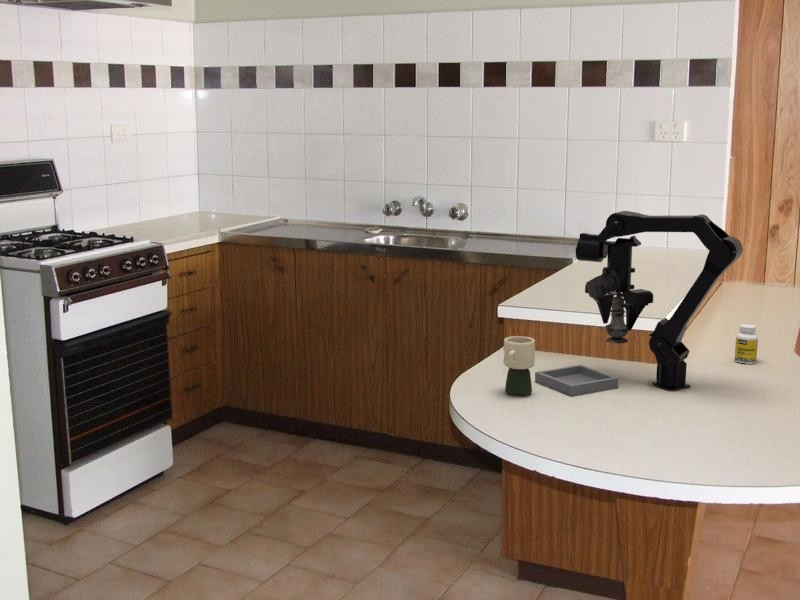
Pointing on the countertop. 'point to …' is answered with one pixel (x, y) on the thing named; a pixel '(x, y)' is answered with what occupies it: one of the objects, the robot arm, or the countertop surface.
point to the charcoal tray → (576, 380)
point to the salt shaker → (617, 322)
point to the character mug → (519, 363)
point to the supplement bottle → (746, 344)
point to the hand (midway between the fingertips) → (616, 326)
